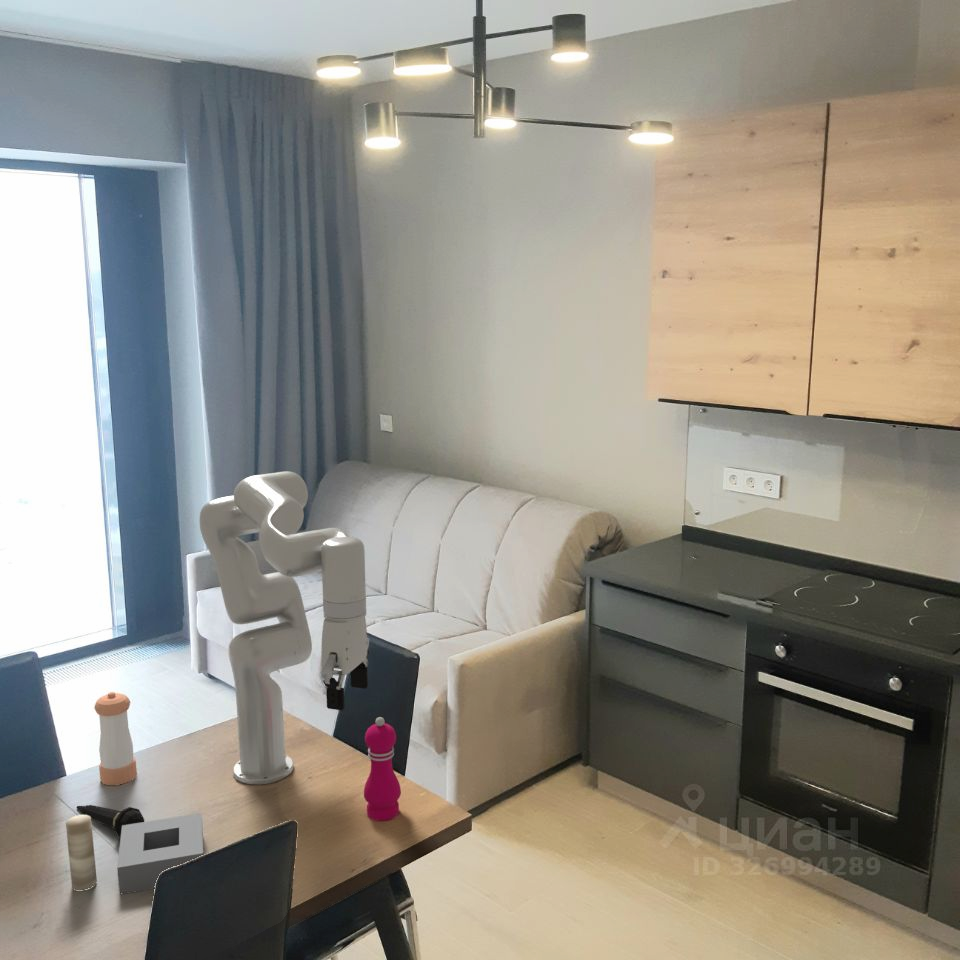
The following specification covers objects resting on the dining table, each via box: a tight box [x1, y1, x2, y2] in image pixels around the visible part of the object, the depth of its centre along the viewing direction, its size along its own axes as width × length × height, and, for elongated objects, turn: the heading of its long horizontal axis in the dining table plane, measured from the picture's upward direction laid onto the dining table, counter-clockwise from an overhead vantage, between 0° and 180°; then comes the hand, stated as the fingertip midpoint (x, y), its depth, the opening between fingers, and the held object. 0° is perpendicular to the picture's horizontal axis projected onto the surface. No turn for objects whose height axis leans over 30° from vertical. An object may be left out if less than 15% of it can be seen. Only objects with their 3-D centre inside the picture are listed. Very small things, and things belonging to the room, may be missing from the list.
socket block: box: [117, 812, 205, 895], centre depth 170 cm, size 14×14×5 cm
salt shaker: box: [94, 691, 138, 786], centre depth 201 cm, size 7×7×19 cm
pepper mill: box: [363, 716, 402, 822], centre depth 186 cm, size 7×7×20 cm
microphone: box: [76, 804, 145, 838], centre depth 184 cm, size 6×6×20 cm
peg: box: [65, 814, 98, 891], centre depth 164 cm, size 4×4×12 cm
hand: (347, 697), depth 172 cm, fingers open, 9 cm apart
